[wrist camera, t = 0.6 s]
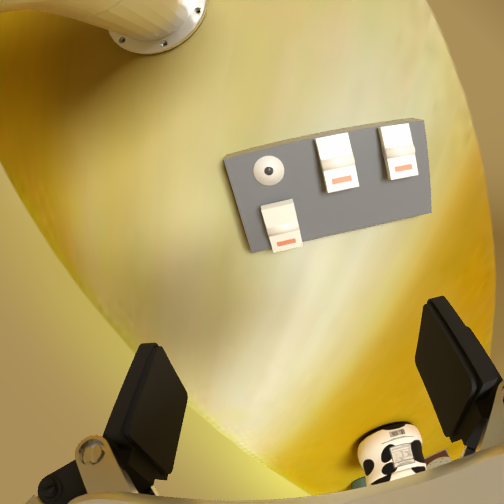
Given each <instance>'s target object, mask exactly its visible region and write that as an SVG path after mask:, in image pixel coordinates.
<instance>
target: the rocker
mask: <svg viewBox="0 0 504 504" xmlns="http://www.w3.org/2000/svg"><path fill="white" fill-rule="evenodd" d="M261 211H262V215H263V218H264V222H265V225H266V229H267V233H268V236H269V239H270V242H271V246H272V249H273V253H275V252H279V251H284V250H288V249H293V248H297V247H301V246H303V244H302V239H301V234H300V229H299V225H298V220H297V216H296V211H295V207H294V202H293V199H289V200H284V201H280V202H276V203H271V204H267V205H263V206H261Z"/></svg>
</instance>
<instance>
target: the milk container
mask: <svg viewBox="0 0 504 504" xmlns="http://www.w3.org/2000/svg"><path fill="white" fill-rule="evenodd" d="M358 460H359V463H360V465H361V467H362V468H363V470H364V473H365V478H366V485H367V486H371V485H376V484H380V483H384V482H388V481H392V480H395V479H399V478H403V477H406V476H409V475H413V474H416V473H419V472H422V471H425V470H427V468H426V463H425V460H424V457H423V454H422V439H421V435H420V433H419V431H418V429H417V428H416V427H415V426H414V425H412V424H408V423H400V424H393V425H389V426H386V427H383V428H381V429H378V430H376V431H374V432H373V433H371V434H369V435H368V436H367V437H365V438H364V439H363V440H362V441H361V442H360V444H359V447H358Z"/></svg>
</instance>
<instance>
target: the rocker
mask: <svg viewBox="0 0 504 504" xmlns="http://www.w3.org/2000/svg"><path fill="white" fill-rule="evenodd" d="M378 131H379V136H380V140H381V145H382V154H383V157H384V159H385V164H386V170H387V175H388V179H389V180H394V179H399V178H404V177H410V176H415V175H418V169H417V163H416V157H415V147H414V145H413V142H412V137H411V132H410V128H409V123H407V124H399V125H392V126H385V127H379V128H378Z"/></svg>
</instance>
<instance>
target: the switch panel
mask: <svg viewBox="0 0 504 504" xmlns="http://www.w3.org/2000/svg"><path fill="white" fill-rule="evenodd" d="M407 123H409V128H410V132H411V137H412V142H413V145H414V147H415V157H416V163H417V169H418V175H415V176H410V177H404V178H399V179H394V180H389V179H388V175H387V170H386V164H385V159H384V157H383V154H382V145H381V140H380V136H379V131H378V128H379V127H385V126H392V125H399V124H407ZM343 133H348V136H349V140H350V145H351V149H352V153H353V156H354V160H355V167H356V172H357V177H358V182H359V187H354V188H349V189H344V190H340V191H335V192H330V193H328V192H327V191H326V187H325V182H324V177H323V173H322V169H321V166H320V160H319V156H318V152H317V147H316V143H315V139H317V138H322V137H327V136H332V135H337V134H343ZM223 160H224V163H225V166H226V170H227V173H228V176H229V180H230V183H231V186H232V190H233V193H234V196H235V200H236V203H237V206H238V210H239V213H240V216H241V219H242V223H243V226H244V229H245V233H246V236H247V239H248V243H249V246H250V249H251V253H255V252H259V251H263V250H268V249H272V246H271V242H270V239H269V236H268V233H267V229H266V225H265V222H264V218H263V215H262V211H261V206H263V205H267V204H271V203H276V202H280V201H284V200H289V199H293V202H294V207H295V211H296V216H297V220H298V225H299V229H300V234H301V239H302V242H304V241H308V240H312V239H317V238H321V237H326V236H330V235H335V234H339V233H344V232H348V231H352V230H357V229H361V228H366V227H370V226H375V225H379V224H384V223H388V222H392V221H397V220H401V219H406V218H410V217H415V216H419V215H423V214H428V213H432V212H431V187H430V172H429V160H428V150H427V141H426V133H425V125H424V120H420V119H415V118H409V119H401V120H393V121H386V122H379V123H372V124H366V125H360V126H354V127H348V128H342V129H337V130H331V131H326V132H321V133H316V134H311V135H306V136H301V137H297V138H292V139H288V140H283V141H279V142H275V143H270V144H266V145H262V146H258V147H254V148H250V149H246V150H242V151H238V152H235V153H231V154H227V155H226V156H225V158H224V159H223Z"/></svg>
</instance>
